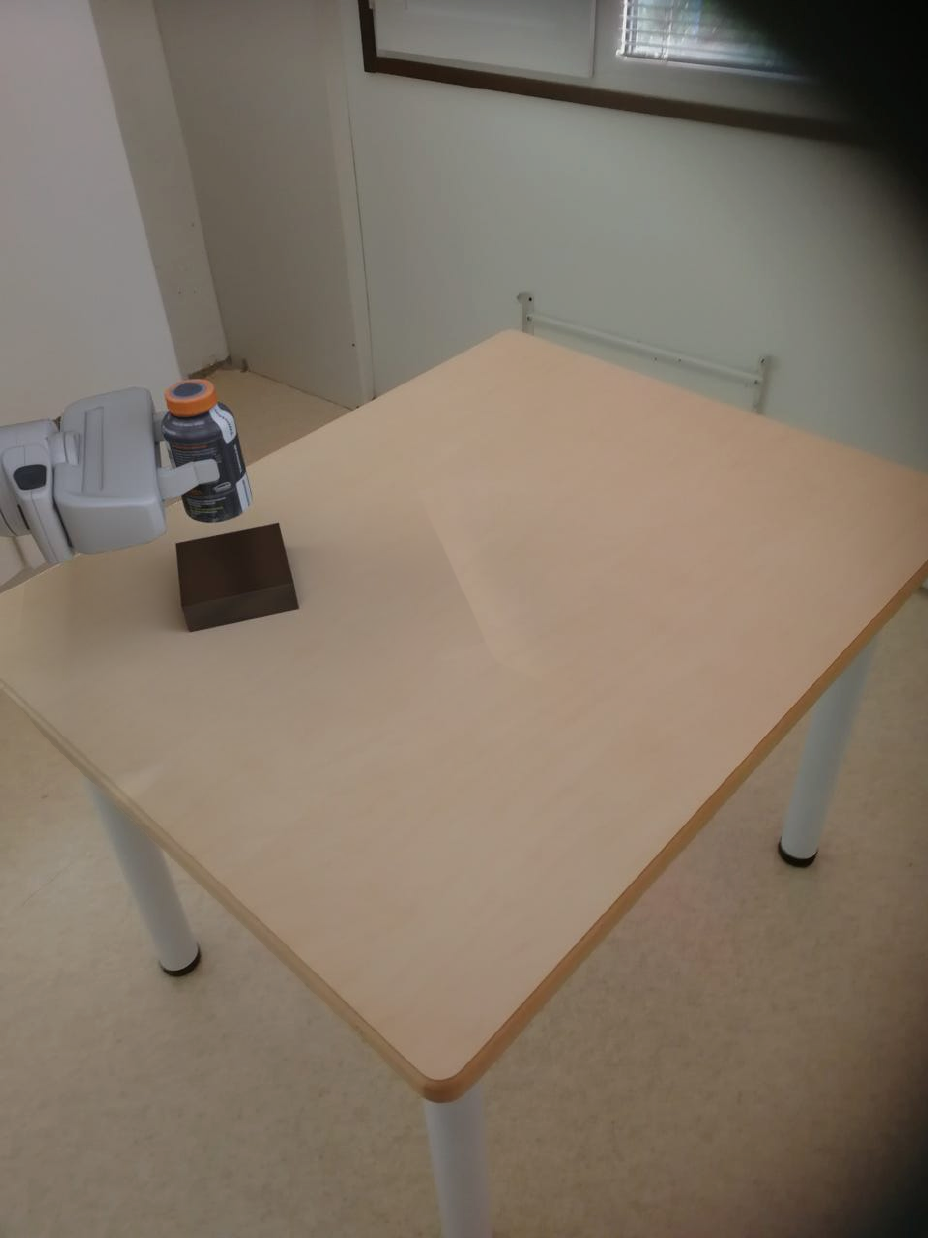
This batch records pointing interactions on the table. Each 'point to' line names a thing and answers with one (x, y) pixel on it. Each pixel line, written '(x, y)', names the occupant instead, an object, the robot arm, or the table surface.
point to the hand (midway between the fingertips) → (214, 444)
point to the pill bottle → (206, 450)
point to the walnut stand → (234, 577)
